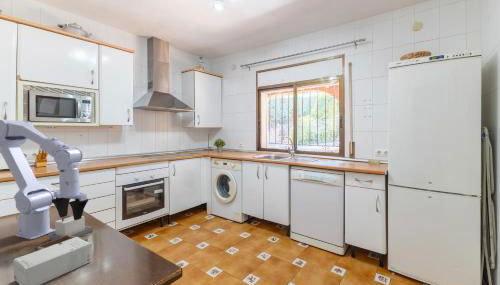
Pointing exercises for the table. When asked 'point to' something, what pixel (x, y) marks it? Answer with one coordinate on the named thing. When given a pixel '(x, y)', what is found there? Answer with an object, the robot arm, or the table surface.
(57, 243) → the walnut bay
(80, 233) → the slate drawer housing
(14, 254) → the table surface
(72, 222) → the white drawer with handle
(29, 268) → the skincare box
